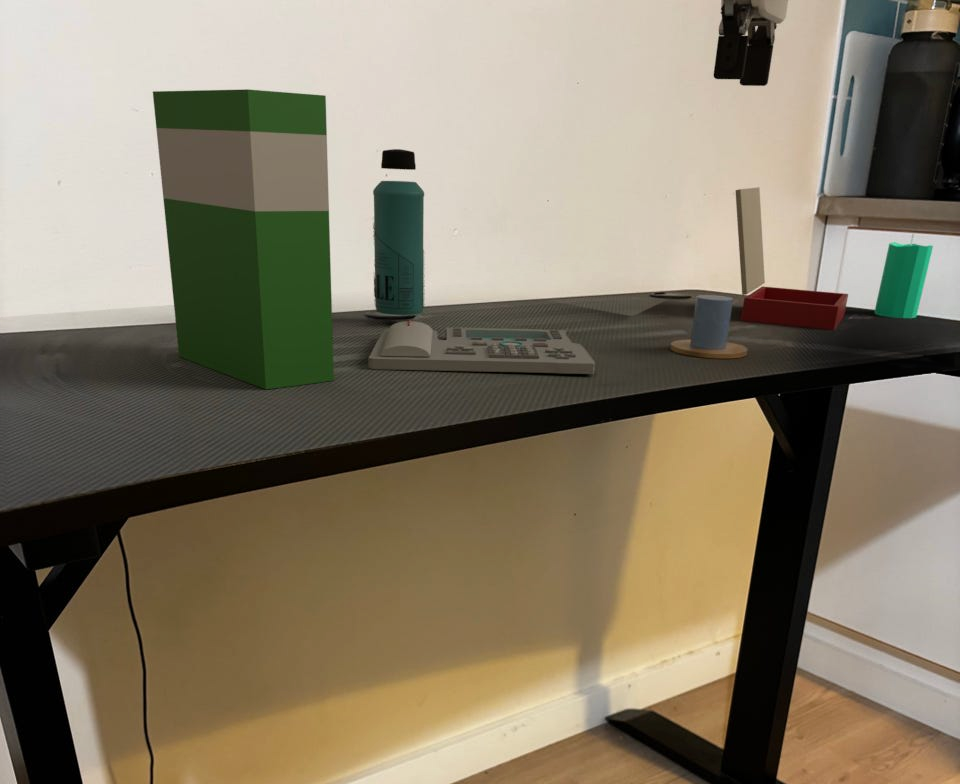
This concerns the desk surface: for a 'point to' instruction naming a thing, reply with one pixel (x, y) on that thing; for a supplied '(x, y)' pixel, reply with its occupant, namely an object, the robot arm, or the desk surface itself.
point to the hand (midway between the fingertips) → (741, 82)
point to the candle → (903, 280)
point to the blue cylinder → (711, 321)
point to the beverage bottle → (398, 240)
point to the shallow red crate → (794, 307)
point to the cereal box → (249, 232)
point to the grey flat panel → (750, 238)
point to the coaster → (709, 350)
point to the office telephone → (479, 350)
